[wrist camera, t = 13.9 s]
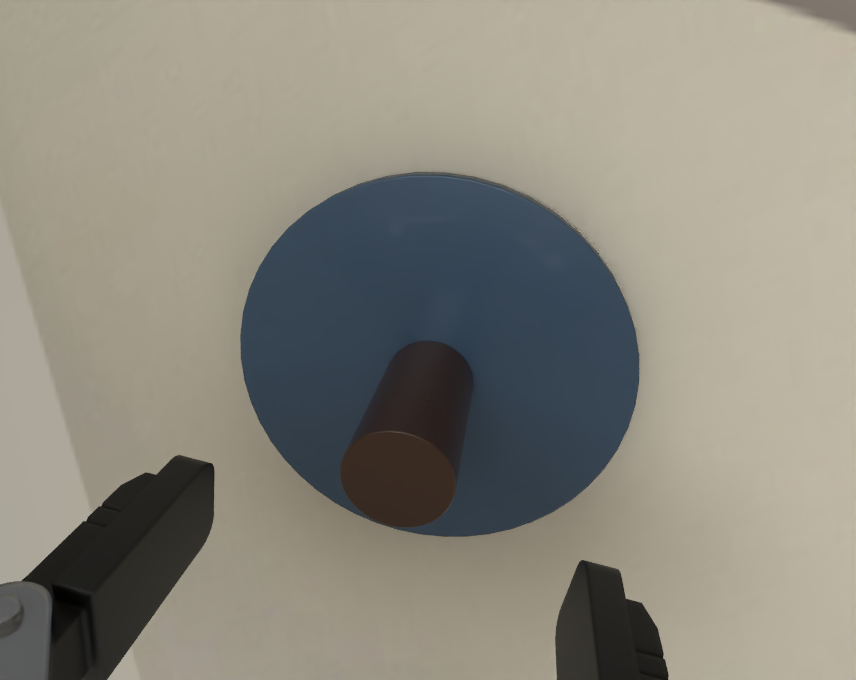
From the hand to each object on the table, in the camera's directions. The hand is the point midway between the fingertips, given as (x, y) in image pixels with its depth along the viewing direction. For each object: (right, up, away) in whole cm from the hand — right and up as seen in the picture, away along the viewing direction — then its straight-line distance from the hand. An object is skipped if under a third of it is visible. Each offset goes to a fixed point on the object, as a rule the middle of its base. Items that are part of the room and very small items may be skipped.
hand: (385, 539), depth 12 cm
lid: (+1, +3, +8) cm, 8 cm away
